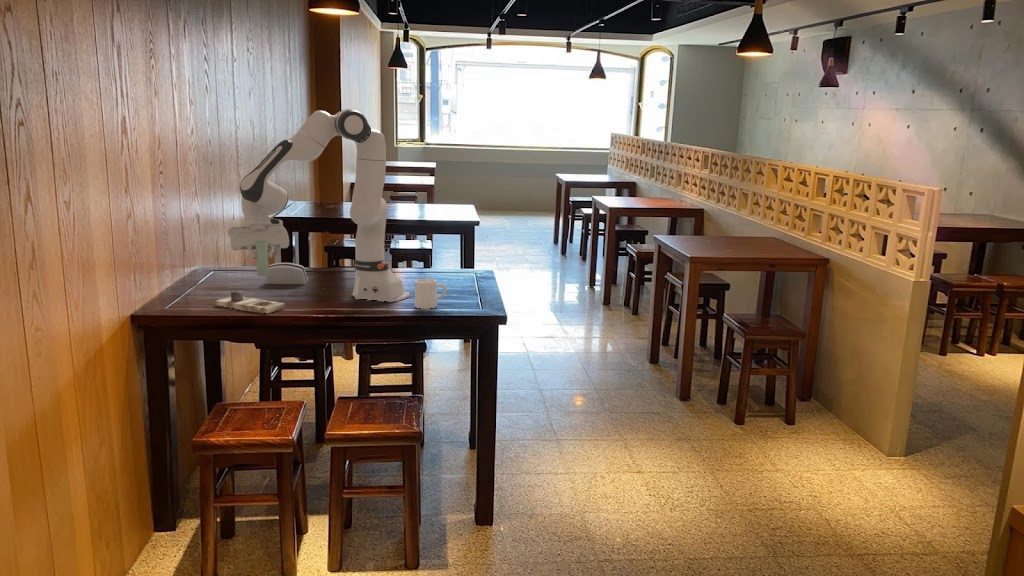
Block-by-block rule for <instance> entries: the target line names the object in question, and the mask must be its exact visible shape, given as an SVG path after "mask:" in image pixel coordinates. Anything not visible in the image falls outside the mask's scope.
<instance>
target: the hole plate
mask: <svg viewBox="0 0 1024 576" xmlns="http://www.w3.org/2000/svg"><path fill="white" fill-rule="evenodd" d="M243 295H244V293H243V290H233V291H230V296H227V297H224V298H220V299H217V300H214V301H215V302H214V303H215V304H214V305H215V306H216V305H217V306H216V307H219V306H224V307H223V308H225V307H229V308H228V309H232V308H234V309H233V310H238V309H239V310H240V311H244V312H245V311H247V312H251V311H252V313H257V312H258V313H259V314H264V313H266V314H265V315H270V314H272V312H273V313H275V311H276V312H278V311H277V310H279V311H281V309H282V310H285V309H286V305H285V304H286V303H285V302H281V301H280V302H279V301H272V300H267V299H259V298H254V297H253V298H252V297H245V296H243ZM269 313H270V314H269Z"/></svg>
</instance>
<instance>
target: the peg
mask: <svg viewBox="0 0 1024 576" xmlns="http://www.w3.org/2000/svg"><path fill="white" fill-rule="evenodd" d="M268 250H269V249H268V244H267V241H256V249H255V252H256V255H257V259H255V260H256V262H255V263H256V275H257V276H258V277H265V276H266V275H269V258H268V252H269V251H268Z"/></svg>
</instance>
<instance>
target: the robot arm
mask: <svg viewBox="0 0 1024 576" xmlns="http://www.w3.org/2000/svg"><path fill="white" fill-rule="evenodd" d="M336 136H339V137H341V138H343V139H346V140H350V141H353V142H354V143H355V146H356V160H355V179H354V187H353V191H352V192H353V193H352V197H351V198H352V199H351V203H350V204H351V205H350V209H349V216H350V219H351V221H352V222H353V223H355V224H356V225H357V229H356V233H355V234H356V236H355V237H354V238H355V239H354V241H355V242H354V245H355V259H354V271H355V278H354V286H353V291H352V296H353V297H354V299H355V300H359V299H367V300H366V301H371V300H377V301H376V302H384V301H387V302H388V303H393V302H394V301H395V302H400V301H402V300H404V299H407V298H409V297H410V296H411V295H410V292H408V291H405V289H404V283H403V281H402V279H400V277H398V276H397V275H396V274H395V273H393V272H392V270H390V269H389V266H391V261H387V260H386V258H385V236H386V235H385V233H386V227H387V226H386V225H387V212H388V203H387V201H386V200H385V199H384V198H383V193H384V192H383V191H384V187H385V186H384V185H385V183H386V182H385V181H386V170H387V169H386V168H387V145H386V139H385V138H386V137H385V135H384V133H382V131H380V130H378V129H374V128H371V126H370V124H369V121H368V120H367V117H366V116H365V115H364V114H363V113H362V112H361V111H359V110H357V109H354V108H344V109H342V110H339V111H337V112H335V113H333V114H331V113H329V112H327V111H326V110H316V111H314V112H312V113H311V114H310V115H309V116H308V118H306V120H305V121H304V122H303V124H302V125H301V127H300V128H299V129H298V130H297V132H296V133H295V134H294V135H293V136H292V137H290V138H288V139H283V140H281V141H280V142H278V143H277V144H276V146H274V147H273V149H271V150H270V152H269V153H267V155H266V156H265V157H264V158H263V159H262V160H261V162H259V164H258V165H257V166H255V168H254V169H253V170H251V171H250V172H249V173H247V174H246V175H245V176H244V177H243V178H242V179H241V181H240V184H239V192H240V195H241V199H240V201H241V202H240V203H241V212H242V214H243V225H244V226H232V227H230V228H229V229H227V235H228V237H229V238H230V240H229V241H230V249H231V250H232V251H247V253H248V254H249V255H250V256H251V259H252V260H254V259H255V260H256V259H257V255H256V241H267V244H268V250H269V251H268V259H272V258H273V253H274V251H275V249H287V248H288V247H289V246H290V238H289V233H288V231H287V229H286V228H285V227H284V222H283V220H281V219H278V218H274V217H270V216H273V215H276V214H277V213H280V212H281V211H283V210H284V209H285V208H287V206H288V202H289V194H288V191H287V190H286V189H284V188H283V187H282V186H280V185H278V184H275V183H274V182H272V181H270V180H269V178H270V177H271V176H272V175H273V174H274V173H275V171H276V170H278V168H279V167H280V166H281V165H282V164H283V163H285V162H287V161H297V162H298V161H299V162H313V161H315V160H316V159H318V158H319V157H320V156H321V155H322V153H323V152H324V150H325V149H326V147H327V146H328V144H329V142H330V141H331V140H333V138H334V137H336ZM254 250H255V252H254ZM387 302H386V303H387Z"/></svg>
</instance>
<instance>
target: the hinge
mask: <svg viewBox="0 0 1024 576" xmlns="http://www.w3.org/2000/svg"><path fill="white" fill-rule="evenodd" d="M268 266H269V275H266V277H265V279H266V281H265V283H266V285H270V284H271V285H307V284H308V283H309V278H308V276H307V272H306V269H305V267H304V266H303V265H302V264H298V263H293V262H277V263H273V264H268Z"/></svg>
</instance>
